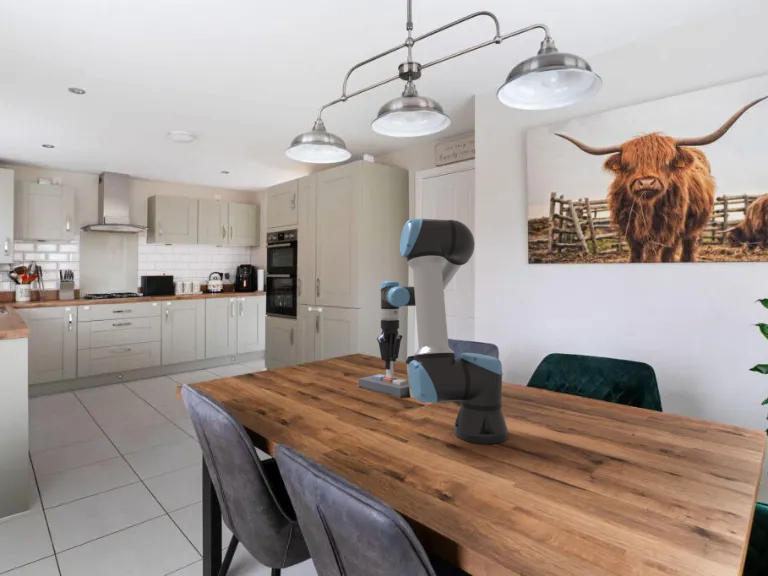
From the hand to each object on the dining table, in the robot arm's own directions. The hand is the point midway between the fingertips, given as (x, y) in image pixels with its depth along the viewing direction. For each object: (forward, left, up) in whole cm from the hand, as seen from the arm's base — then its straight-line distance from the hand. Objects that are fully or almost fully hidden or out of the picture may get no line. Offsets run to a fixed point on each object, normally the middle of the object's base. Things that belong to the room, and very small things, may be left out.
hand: (389, 377), depth 176 cm
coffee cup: (0, -15, -5) cm, 16 cm away
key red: (0, 0, -3) cm, 3 cm away
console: (0, 0, -5) cm, 5 cm away
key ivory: (0, -5, -3) cm, 6 cm away
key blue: (0, +6, -3) cm, 6 cm away
